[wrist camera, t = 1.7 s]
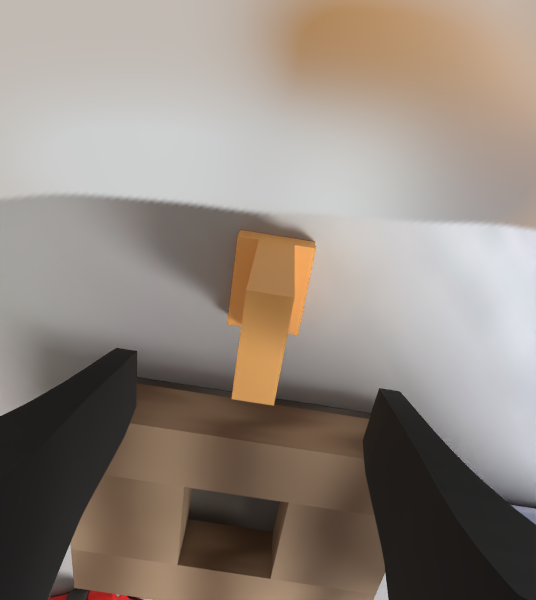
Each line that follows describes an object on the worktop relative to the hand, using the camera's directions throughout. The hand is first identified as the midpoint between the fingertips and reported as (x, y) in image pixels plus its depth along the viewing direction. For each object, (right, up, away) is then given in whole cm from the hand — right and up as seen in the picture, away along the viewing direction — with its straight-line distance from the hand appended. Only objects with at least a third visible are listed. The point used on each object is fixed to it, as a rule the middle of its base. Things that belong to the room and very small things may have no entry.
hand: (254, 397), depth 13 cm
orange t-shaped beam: (+1, +4, +8) cm, 9 cm away
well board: (-1, -9, +14) cm, 17 cm away
